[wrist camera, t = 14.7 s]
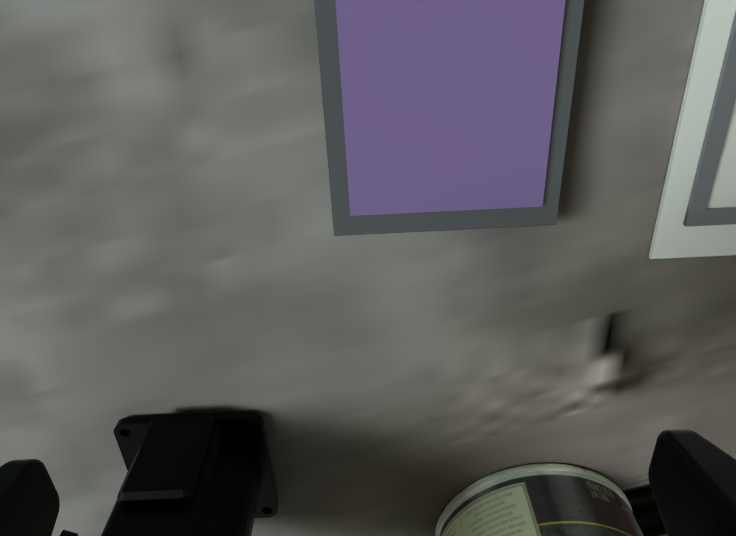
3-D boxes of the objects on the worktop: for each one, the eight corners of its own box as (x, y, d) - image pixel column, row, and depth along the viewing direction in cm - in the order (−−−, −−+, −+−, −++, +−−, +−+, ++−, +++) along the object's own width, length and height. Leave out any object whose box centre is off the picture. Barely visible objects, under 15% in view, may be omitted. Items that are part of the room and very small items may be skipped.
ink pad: (544, 208, 20) (557, 227, 19) (335, 219, 21) (334, 238, 19) (580, -107, 16) (601, -114, 14) (310, -92, 16) (305, -97, 14)
